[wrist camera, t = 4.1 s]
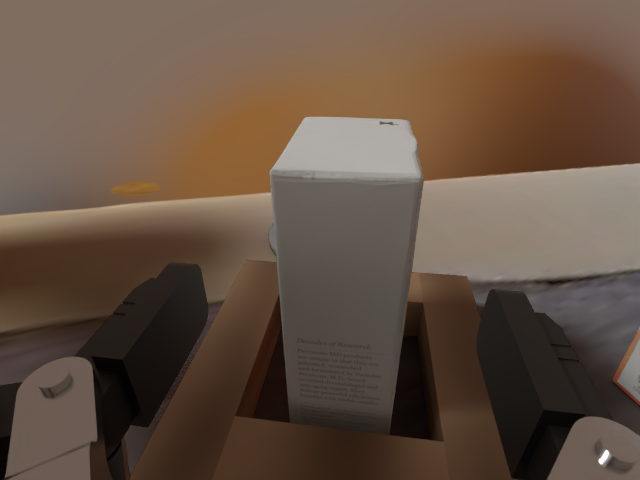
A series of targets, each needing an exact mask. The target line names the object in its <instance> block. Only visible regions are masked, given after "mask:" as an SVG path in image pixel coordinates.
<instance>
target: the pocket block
mask: <svg viewBox="0 0 640 480" xmlns="http://www.w3.org/2000/svg"><path fill="white" fill-rule="evenodd" d="M480 321H481V317H480V314H479V311H478V308H477V305H476V302H475V299H474V296H473V293H472V290H471V287H470V284H469V281H468V278H467V276H457V275H444V274H430V273H417V272H412V273H411V281H410V288H409V295H408V302H407V309H406V317H405V324H404V332H403V335H407V336H417V338H418V346H419V355H420V364H421V373H422V381H423V390H424V399H425V407H426V416H427V425H428V434H429V440H425V439H417V438H409V437H400V436H392V435H384V434H376V433H368V432H360V431H352V430H344V429H335V428H327V427H319V426H311V425H303V424H295V423H287V422H279V421H270V420H262V419H254V418H253V416H254V413H255V410H256V407H257V403H258V400H259V397H260V394H261V391H262V387H263V384H264V381H265V378H266V375H267V371H268V368H269V365H270V362H271V359H272V356H273V352H274V349H275V346H276V343H277V340H278V336H279V333H280V330H281V327H282V321H281V308H280V295H279V282H278V271H277V262H268V261H254V260H246V262H245V264H244V266H243V268H242V269H241V271H240V273H239V275H238V277H237V279H236V281H235V282H234V284H233V286H232V288H231V290H230V292H229V294H228V295H227V297H226V299H225V301H224V303H223V305H222V307H221V308H220V310H219V312H218V314H217V316H216V318H215V319H214V321H213V323H212V325H211V327H210V329H209V331H208V332H207V334H206V336H205V338H204V340H203V342H202V344H201V345H200V347H199V349H198V351H197V353H196V355H195V357H194V358H193V360H192V362H191V364H190V366H189V368H188V370H187V371H186V373H185V375H184V377H183V379H182V381H181V383H180V384H179V386H178V388H177V390H176V392H175V394H174V396H173V397H172V399H171V401H170V403H169V405H168V407H167V409H166V410H165V412H164V414H163V416H162V418H161V420H160V422H159V423H158V425H157V427H156V429H155V431H154V433H153V435H152V436H151V438H150V440H149V442H148V444H147V446H146V448H145V449H144V451H143V453H142V455H141V457H140V459H139V461H138V462H137V464H136V466H135V468H134V470H133V472H132V473H131V475H130V480H519V479H512V478H511V475H510V472H509V468H508V464H507V461H506V457H505V454H504V450H503V446H502V443H501V439H500V435H499V432H498V428H497V425H496V421H495V417H494V414H493V410H492V406H491V403H490V399H489V396H488V392H487V388H486V385H485V381H484V377H483V374H482V370H481V367H480V363H479V359H478V355H477V349H476V339H477V332H478V328H479V325H480Z"/></svg>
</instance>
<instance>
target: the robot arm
mask: <svg viewBox="0 0 640 480" xmlns="http://www.w3.org/2000/svg"><path fill="white" fill-rule="evenodd" d="M207 316H208V304H207V299H206V293H205V288H204V283H203V278H202V273H201V269H200V267H199V266H198V265H197V264H186V263H173V262H172V263H169V264H168V265H167V266H166V267H165V269H164V270H163V271H162V272H161V273H160V274H159V276H158V277H157V278H156V279H155V278H151V279H149V280H147V281H146V282H144V283H143V284H141V285H140V286H138V287H136V288H135V289H134V290H133V291H132V292H131V293H130V294H129V295H128V296H127V298H126V299H125V300H124V301H123V304H120V305H119V307H118V308H117V309H116V310H115V311H114V312H113V315H111V316H110V317H109V318H108V319H107V320H106V321H105V322H104V323H103V325H102V326H101V327H100V328H99V329H98V330H97V331H96V332H95V334H94V335H93V336H92V337H91V338H90V339H89V340H88V341H87V343H86V344H85V345H84V346H83V347H82V348H81V349H80V350H79V352H78V353H77V354H76V355H75V356H74V357H66V358H61V359H57V360H55V361H52V362H49V363H47V364H45V365H43V366H42V367H40V368H38V369H37V370H36V371H34V372H33V373H32V374H30V375H29V376H28V377H27V378H26V379H25V380H24V381H23V382H20V383H14V384H7V385H1V386H0V480H130V473H129V466H128V458H127V451H126V443H125V440H124V435H125V433H126V432H127V430H128V428H129V427H130V425H134V426H142V427H149V425H150V423H151V421H152V420H153V418H154V416H155V414H156V412H157V411H158V409H159V407H160V405H161V403H162V402H163V400H164V398H165V396H166V395H167V393H168V391H169V389H170V387H171V386H172V384H173V382H174V380H175V378H176V377H177V375H178V373H179V371H180V370H181V368H182V366H183V364H184V362H185V361H186V359H187V357H188V355H189V354H190V352H191V350H192V348H193V346H194V345H195V343H196V341H197V339H198V337H199V336H200V334H201V332H202V330H203V329H204V327H205V324H206V321H207ZM476 349H477V355H478V359H479V363H480V367H481V370H482V374H483V377H484V381H485V385H486V388H487V392H488V396H489V399H490V403H491V406H492V410H493V414H494V417H495V421H496V425H497V428H498V432H499V435H500V439H501V443H502V446H503V450H504V454H505V457H506V461H507V464H508V468H509V472H510V475H511V478H512V479H519V480H640V436H638V435H637V434H636V433H634V432H633V431H632V430H630V429H628V428H627V427H625V426H623V425H621V424H619V423H617V422H614V420H613V419H612V417H611V415H610V413H609V412H608V410H607V408H606V406H605V405H604V403H603V401H602V399H601V398H600V396H599V394H598V392H597V390H596V389H595V387H594V385H593V383H592V382H591V380H590V378H589V376H588V374H587V373H586V371H585V369H584V367H583V366H582V364H580V363H579V358H578V357H577V355H576V353H575V351H574V350H573V349H571V344H570V343H569V341H568V339H567V337H566V335H565V334H564V332H563V330H562V328H560V327H559V326H558V325H557V324H556V323H555V322H554V321H553V320H552V319H550V318H549V317H548V316H547V315H546V314H545V313H535V312H534V310H533V308H532V306H531V304H530V302H529V300H528V299H527V297H526V295H525V293H524V292H520V291H508V290H495V289H492V290H490V292H489V294H488V297H487V300H486V304H485V307H484V311H483V314H482V318H481V321H480V325H479V328H478V332H477V339H476Z"/></svg>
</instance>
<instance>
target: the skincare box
mask: <svg viewBox="0 0 640 480" xmlns="http://www.w3.org/2000/svg"><path fill="white" fill-rule="evenodd" d="M417 146H418V144H417V140H416V138H415V137H414V135H413V132H412V129H411V125H410V122H409V121H407V120H399V119H369V118H343V117H306V118H304V120H303V121H302V123H301V125H300V126H299V128H298V129H297V130H296V132H295V134H294V135H293V137H292V139H291V140H290V142H289V144H288V145H287V147H286V148H285V150H284V151H283V153H282V154H281V156H280V157H279V159H278V161H277V162H276V164H275V165H274V166H273V168H272V169H271V171H270V181H271V195H272V208H273V220H274V232H275V244H276V257H277V271H278V282H279V295H280V308H281V321H282V334H283V345H284V357H285V369H286V381H287V394H288V406H289V416H290V423H295V424H303V425H311V426H319V427H327V428H335V429H344V430H352V431H360V432H368V433H376V434H384V435H389V434H390V427H391V419H392V411H393V404H394V397H395V389H396V382H397V374H398V367H399V359H400V353H401V346H402V339H403V332H404V324H405V317H406V309H407V302H408V295H409V288H410V281H411V273H412V266H413V258H414V250H415V241H416V234H417V227H418V219H419V211H420V204H421V197H422V190H423V182H424V176H423V172H422V168H421V165H420V160H419V156H418V150H417V149H418V147H417Z"/></svg>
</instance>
